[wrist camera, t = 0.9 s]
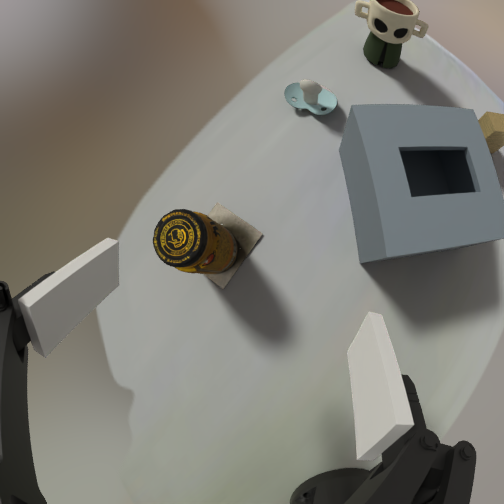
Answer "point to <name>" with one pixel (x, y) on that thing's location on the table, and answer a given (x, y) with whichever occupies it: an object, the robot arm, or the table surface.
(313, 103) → the pacifier
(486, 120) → the gold brushed block
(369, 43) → the character mug
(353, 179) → the box
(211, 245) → the condiment
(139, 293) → the table surface
